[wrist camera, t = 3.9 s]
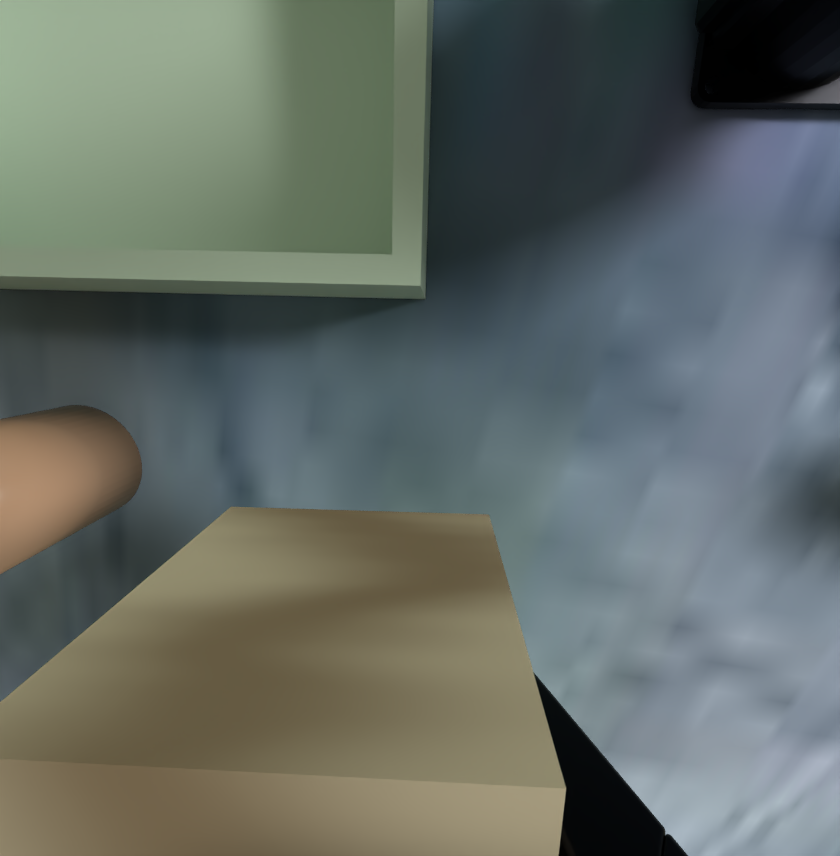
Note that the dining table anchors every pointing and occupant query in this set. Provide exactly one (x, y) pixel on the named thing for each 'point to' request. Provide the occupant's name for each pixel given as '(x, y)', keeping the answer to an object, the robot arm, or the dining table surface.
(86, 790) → the maple cube
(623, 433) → the dining table surface
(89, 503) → the tan capsule
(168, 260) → the tote
